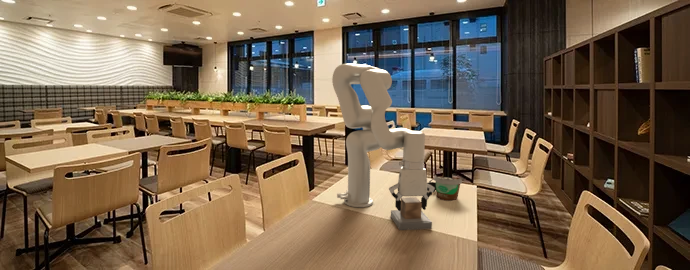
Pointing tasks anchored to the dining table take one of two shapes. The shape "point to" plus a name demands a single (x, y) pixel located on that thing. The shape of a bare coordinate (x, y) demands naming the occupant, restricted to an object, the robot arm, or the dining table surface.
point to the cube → (411, 208)
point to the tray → (410, 221)
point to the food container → (447, 188)
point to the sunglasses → (432, 185)
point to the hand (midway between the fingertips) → (410, 208)
